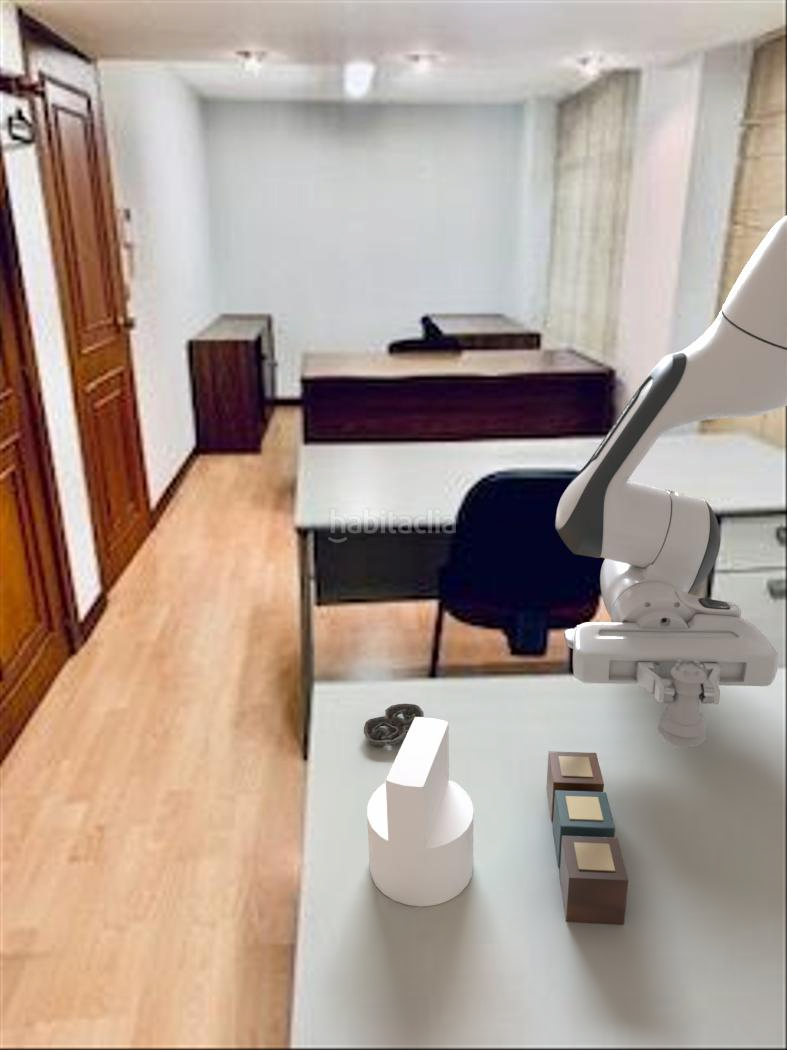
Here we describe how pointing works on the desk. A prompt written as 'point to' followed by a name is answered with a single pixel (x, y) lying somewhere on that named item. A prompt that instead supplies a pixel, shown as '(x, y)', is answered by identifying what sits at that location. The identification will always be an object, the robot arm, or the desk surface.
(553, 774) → the block
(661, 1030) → the desk surface
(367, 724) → the corroded twin loop
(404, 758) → the cylinder with rectangular tab
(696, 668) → the rook chess piece
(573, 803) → the block middle
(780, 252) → the robot arm
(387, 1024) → the desk surface
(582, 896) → the block
